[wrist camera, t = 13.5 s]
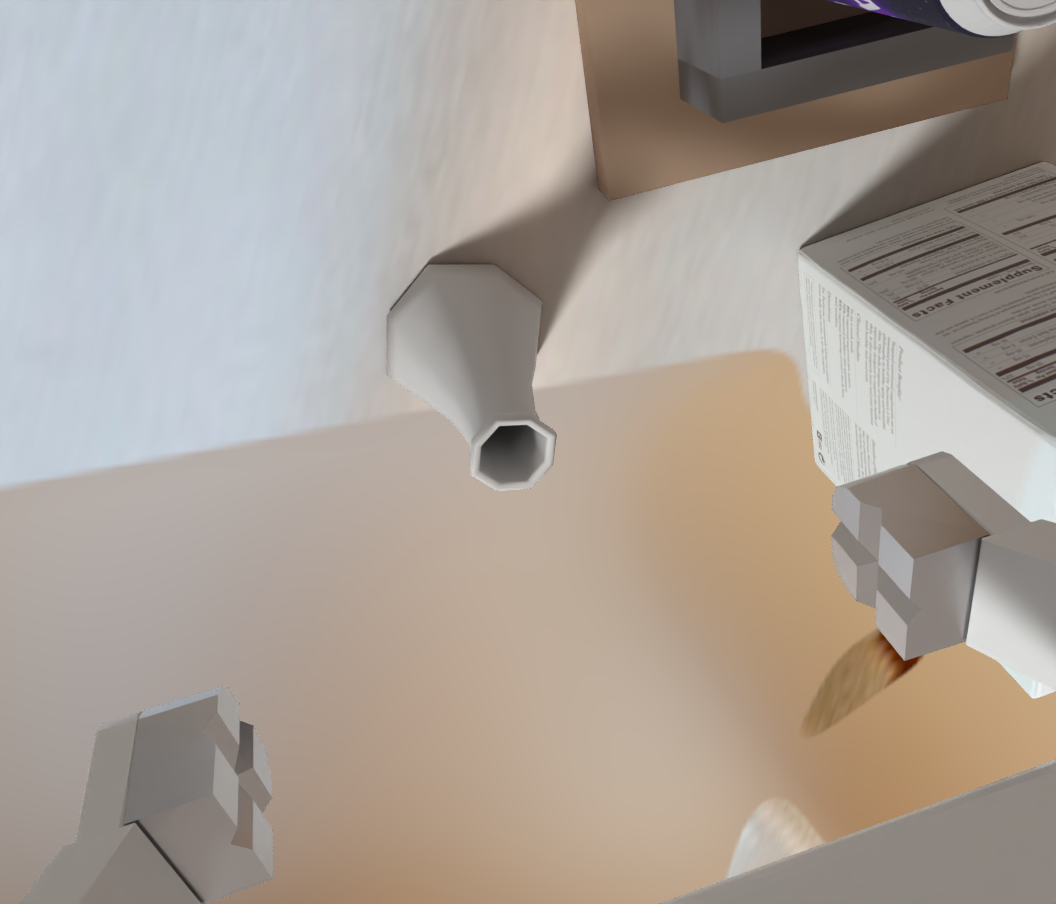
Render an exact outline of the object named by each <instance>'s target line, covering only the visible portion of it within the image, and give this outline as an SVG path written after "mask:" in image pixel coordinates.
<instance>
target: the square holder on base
mask: <svg viewBox="0 0 1056 904" xmlns="http://www.w3.org/2000/svg"><path fill="white" fill-rule="evenodd" d="M575 3H576V11H577V19H578V27H579V35H580V43H581V51H582V59H583V67H584V75H585V83H586V91H587V99H588V108H589V116H590V124H591V132H592V140H593V148H594V156H595V164H596V172H597V180H598V188H599V191H601V192H602V193H603V194H604V195H605V196H606V197H607V198H608V199H609V200H614V199H618V198H622V197H626V196H630V195H634V194H638V193H642V192H645V191H649V190H653V189H657V188H661V187H665V186H669V185H673V184H677V183H680V182H684V181H688V180H692V179H696V178H700V177H704V176H708V175H712V174H716V173H719V172H723V171H727V170H731V169H735V168H739V167H743V166H747V165H751V164H754V163H758V162H762V161H766V160H770V159H774V158H778V157H782V156H786V155H790V154H793V153H797V152H801V151H805V150H809V149H813V148H817V147H821V146H825V145H829V144H832V143H836V142H840V141H844V140H848V139H852V138H856V137H860V136H864V135H867V134H871V133H875V132H879V131H883V130H887V129H891V128H895V127H899V126H903V125H906V124H910V123H914V122H918V121H922V120H926V119H930V118H934V117H938V116H941V115H945V114H949V113H953V112H957V111H961V110H965V109H969V108H973V107H977V106H980V105H984V104H988V103H992V102H996V101H1000V100H1004V99H1007V98H1008V91H1009V83H1010V76H1011V69H1012V62H1013V55H1014V48H1015V41H1016V34H1017V33H1015V34H1012V35H1008V36H1005V37H999V38H978V37H973V36H969V35H965V34H961V33H957V32H953V31H949V30H945V29H941V28H937V27H933V26H929V25H925V24H921V23H917V22H913V21H909V20H905V19H901V18H897V17H893V16H889V15H885V14H880V13H876V12H872V11H868V10H864V9H860V8H856V7H852V6H848V5H844V4H840V3H836V2H832V1H828V0H575Z"/></svg>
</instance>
